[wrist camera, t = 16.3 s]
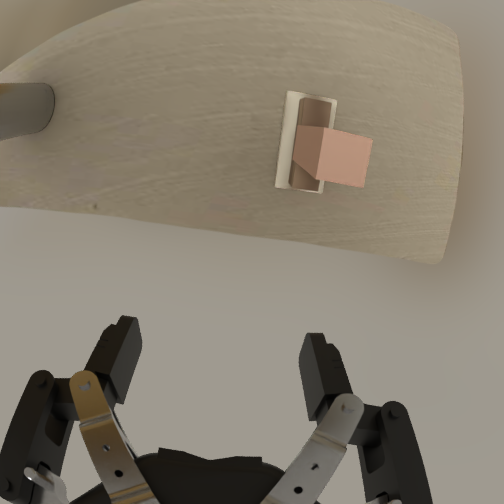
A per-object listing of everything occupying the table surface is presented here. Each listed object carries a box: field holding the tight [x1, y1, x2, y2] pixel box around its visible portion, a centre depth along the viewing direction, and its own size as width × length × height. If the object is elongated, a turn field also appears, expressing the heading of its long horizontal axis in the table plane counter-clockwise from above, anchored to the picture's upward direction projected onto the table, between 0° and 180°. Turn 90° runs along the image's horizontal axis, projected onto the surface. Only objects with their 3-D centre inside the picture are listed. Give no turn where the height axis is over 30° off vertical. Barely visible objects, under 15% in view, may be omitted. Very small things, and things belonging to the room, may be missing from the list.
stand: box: [274, 91, 337, 194], centre depth 34 cm, size 7×14×5 cm, turn 174°
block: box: [292, 125, 373, 188], centre depth 26 cm, size 4×4×12 cm
